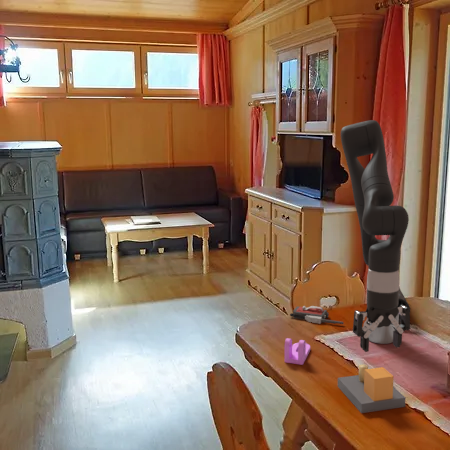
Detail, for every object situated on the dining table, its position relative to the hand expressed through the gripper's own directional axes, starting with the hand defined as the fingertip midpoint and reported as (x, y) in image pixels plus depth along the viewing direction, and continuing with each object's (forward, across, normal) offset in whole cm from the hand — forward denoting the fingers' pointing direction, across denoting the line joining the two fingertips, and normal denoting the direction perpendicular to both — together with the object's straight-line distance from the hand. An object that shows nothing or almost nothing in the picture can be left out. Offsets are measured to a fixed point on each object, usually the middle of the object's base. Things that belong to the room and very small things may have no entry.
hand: (380, 348), depth 132 cm
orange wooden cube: (+13, 0, 0) cm, 13 cm away
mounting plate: (+15, 0, -4) cm, 16 cm away
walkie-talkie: (+16, -8, -59) cm, 61 cm away
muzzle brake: (+16, -37, -59) cm, 71 cm away
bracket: (+16, +10, -33) cm, 37 cm away
